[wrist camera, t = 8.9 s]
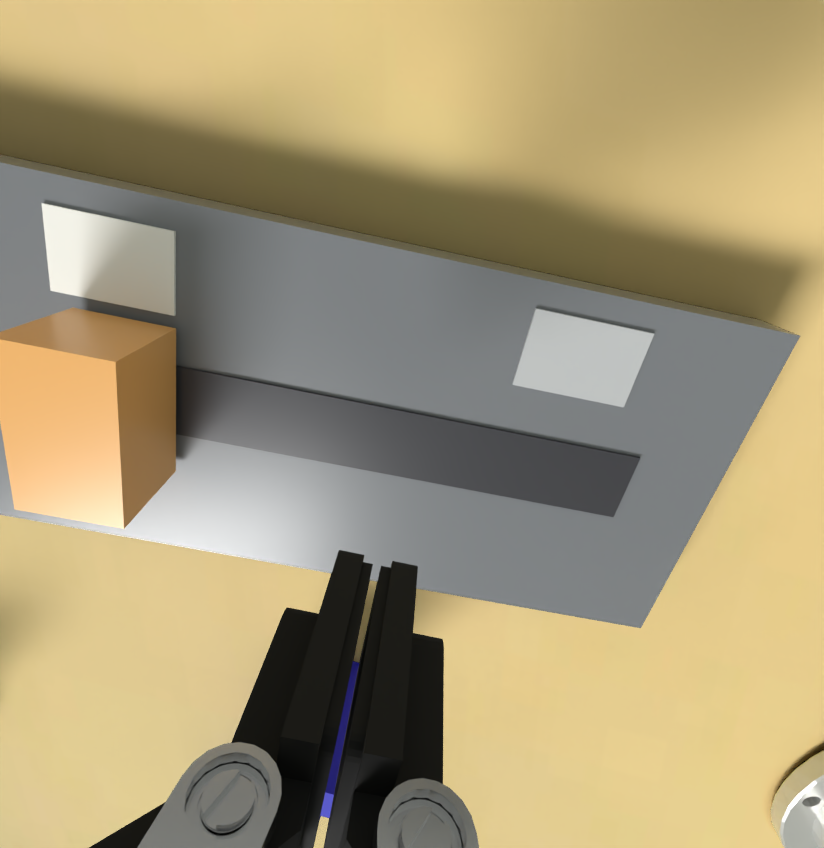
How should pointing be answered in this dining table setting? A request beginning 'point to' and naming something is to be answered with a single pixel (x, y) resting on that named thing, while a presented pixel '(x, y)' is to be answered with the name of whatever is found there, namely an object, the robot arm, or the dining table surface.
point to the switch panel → (399, 395)
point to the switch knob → (88, 414)
